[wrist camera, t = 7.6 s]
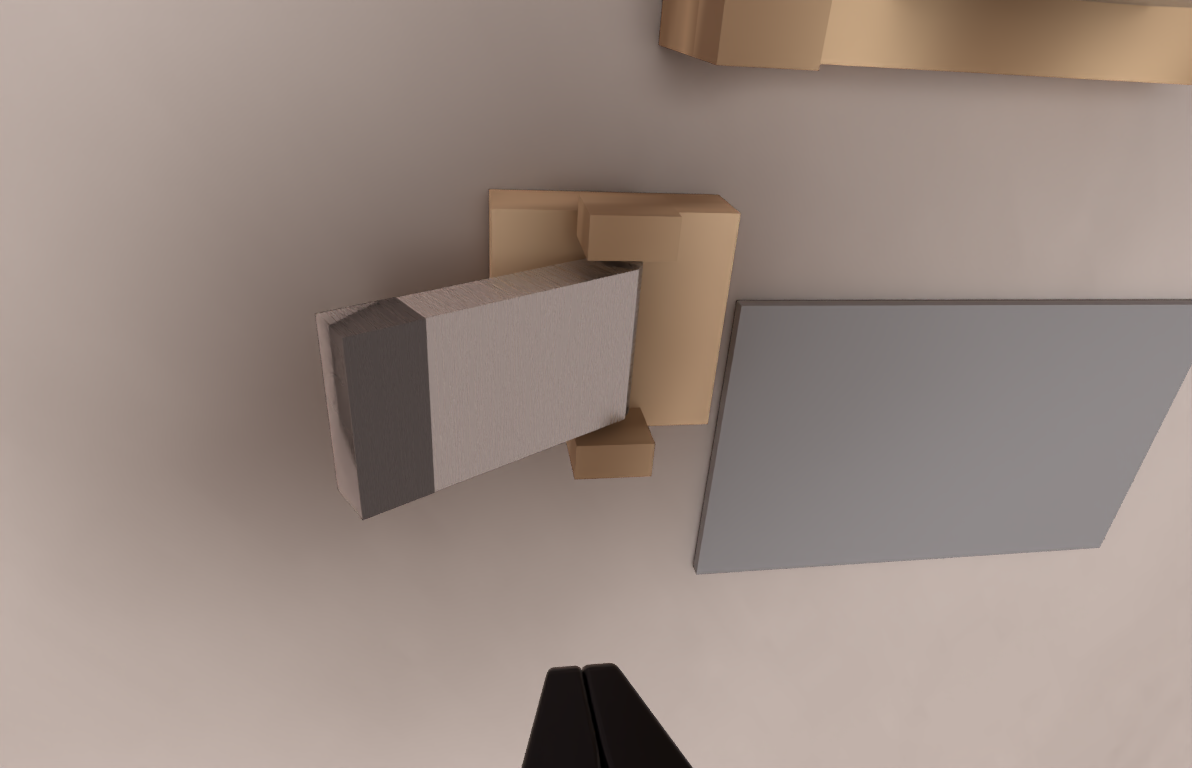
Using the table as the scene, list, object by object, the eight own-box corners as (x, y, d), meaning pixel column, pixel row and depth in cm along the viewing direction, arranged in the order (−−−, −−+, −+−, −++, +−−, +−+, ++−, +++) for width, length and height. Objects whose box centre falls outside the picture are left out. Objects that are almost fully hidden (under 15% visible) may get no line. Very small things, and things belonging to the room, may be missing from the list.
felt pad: (1210, 299, 24) (1221, 304, 23) (1091, 540, 28) (1099, 547, 28) (737, 300, 21) (741, 306, 21) (693, 566, 26) (696, 574, 25)
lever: (655, 266, 17) (342, 337, 13) (639, 413, 19) (362, 520, 15) (620, 251, 18) (314, 313, 14) (608, 394, 20) (337, 489, 15)
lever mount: (720, 179, 19) (770, 218, 16) (688, 404, 22) (724, 472, 19) (488, 172, 18) (494, 213, 15) (490, 409, 21) (495, 482, 18)
